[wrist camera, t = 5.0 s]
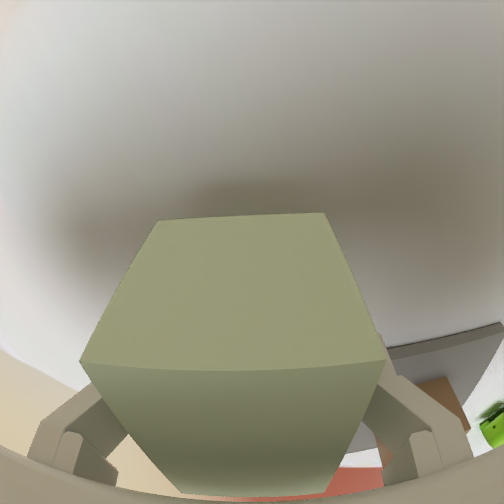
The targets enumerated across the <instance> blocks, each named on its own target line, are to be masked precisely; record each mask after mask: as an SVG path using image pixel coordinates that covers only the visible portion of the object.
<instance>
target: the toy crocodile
mask: <svg viewBox="0 0 504 504" xmlns="http://www.w3.org/2000/svg"><path fill="white" fill-rule="evenodd" d="M480 429H481V431H482V433H483V435H484V437H485V439H486V441H487V442H488V444H489V445H490V446H491V447H492V448H493V449H495V448H497V447H499V446H501V445H503V444H504V412H503V413H501V414H500V415H499V416H498V417H497V418H496V419H494V420H493V421H492V422H490V421H489V420H487V421H485V422H484V423H483V424H481V425H480Z"/></svg>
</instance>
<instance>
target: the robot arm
mask: <svg viewBox="0 0 504 504" xmlns="http://www.w3.org/2000/svg"><path fill="white" fill-rule="evenodd" d="M377 335H378V337H379V340H380V342H381V345H382V348H383V350H384V353H385V356H386V358H387V360H386V363H385V365H384V368H383V371H382V373H381V376H380V378H379V381H378V383H377V386H376V388H375V391H374V393H373V396H372V398H371V400H370V403H369V405H368V407H367V410H366V412H365V414H364V416H363V418H362V421H363V422H364V423H365V425H366V426H367V427H368V428H369V429H370V430H371V431H372V432H373V433H374V434H375V435H376V436H377V437H378V438H379V439H380V441H381V442H382V443H383V444H384V445H385V446H386V447H387V448H388V449H389V450H390V451H391V452H392V453H393V454H394V455H395V456H394V457H393V458H392V460H391V461H390V462H389V463H388V464H387V466H386V467H385V468H384V469H383V471H382V477H383V482H384V487H382V488H377V489H372V490H368V491H363V492H357V493H352V494H346V495H339V496H333V497H325V498H316V499H306V500H296V501H295V500H294V501H279V502H222V501H207V500H195V499H185V498H176V497H169V496H162V495H156V494H150V493H144V492H139V491H134V490H129V489H125V488H120V487H116V481H117V476H118V471H117V469H116V468H115V467H114V466H113V465H112V464H111V463H109V462H108V461H107V460H106V458H107V456H108V455H109V454H110V453H111V452H112V451H113V450H114V449H115V448H116V447H117V446H118V445H119V443H120V442H121V441H122V440H123V439H124V438H125V437H126V436H127V434H129V433H128V432H127V431H126V429H125V428H124V427H123V426H122V424H121V423H120V422H119V420H118V419H117V418H116V416H115V415H114V413H113V412H112V411H111V409H110V408H109V406H108V405H107V404H106V402H105V401H104V399H103V398H102V396H101V395H100V393H99V392H98V390H97V389H96V387H95V386H94V384H93V383H92V382H91V383H90V384H89V385H87V386H86V387H85V388H83V389H82V390H81V391H80V392H78V393H77V394H76V395H74V396H73V397H72V398H71V399H69V400H68V401H67V402H65V403H64V404H63V405H62V406H60V407H59V408H58V409H57V410H55V411H54V412H52V413H51V414H50V415H49V416H47V417H46V418H45V419H43V420H42V421H41V422H40V425H39V427H38V429H37V432H36V434H35V437H34V439H33V442H32V444H31V447H30V449H29V452H28V455H27V457H25V456H22V455H20V454H18V453H16V452H14V451H11V450H9V449H7V448H5V447H3V446H1V445H0V504H504V444H503V445H501V446H499V447H497V448H495V449H493V450H490V451H488V452H486V453H484V454H482V455H479V456H477V457H475V458H474V456H473V453H472V450H471V447H470V444H469V442H468V439H467V436H466V434H465V431H464V428H463V426H462V423H461V421H460V418H458V417H457V416H456V415H454V414H453V413H451V412H450V411H449V410H447V409H446V408H445V407H443V406H442V405H441V404H439V403H438V402H437V401H435V400H434V399H433V398H431V397H430V396H429V395H427V394H426V393H425V392H423V391H422V390H421V389H419V388H418V387H417V386H415V385H414V384H413V383H411V382H410V381H409V380H407V379H406V378H405V377H404V376H402V375H398V376H397V375H396V372H395V369H394V367H393V364H392V361H391V359H390V356H389V354H388V351H387V349H386V346H385V344H384V341H383V339H382V336H381V335H380V334H379V333H377Z"/></svg>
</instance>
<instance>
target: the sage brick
mask: <svg viewBox="0 0 504 504" xmlns="http://www.w3.org/2000/svg"><path fill="white" fill-rule="evenodd" d="M386 360H387V358H386V356H385V353H384V350H383V348H382V345H381V342H380V340H379V337H378V335H377V332H376V329H375V327H374V324H373V322H372V319H371V317H370V314H369V312H368V309H367V307H366V305H365V302H364V300H363V297H362V295H361V293H360V290H359V288H358V285H357V283H356V281H355V278H354V276H353V274H352V272H351V269H350V267H349V265H348V263H347V260H346V258H345V256H344V254H343V251H342V249H341V247H340V245H339V243H338V241H337V238H336V236H335V234H334V232H333V230H332V228H331V226H330V224H329V221H328V219H327V217H326V215H325V213H292V214H265V215H243V216H223V217H205V218H189V219H174V220H159V221H157V223H156V224H155V226H154V227H153V229H152V230H151V232H150V234H149V235H148V237H147V238H146V240H145V242H144V243H143V245H142V247H141V248H140V250H139V252H138V253H137V255H136V257H135V258H134V260H133V262H132V263H131V265H130V267H129V268H128V270H127V272H126V274H125V275H124V277H123V279H122V280H121V282H120V284H119V286H118V287H117V289H116V291H115V293H114V295H113V296H112V298H111V300H110V302H109V304H108V306H107V307H106V309H105V311H104V313H103V315H102V317H101V319H100V321H99V322H98V324H97V326H96V328H95V330H94V332H93V334H92V336H91V338H90V340H89V342H88V344H87V346H86V348H85V350H84V352H83V354H82V356H81V358H80V360H79V362H80V364H81V365H82V367H83V369H84V370H85V372H86V373H87V375H88V377H89V378H90V380H91V381H92V383H93V384H94V386H95V387H96V389H97V390H98V392H99V393H100V395H101V396H102V398H103V399H104V401H105V402H106V404H107V405H108V406H109V408H110V409H111V411H112V412H113V413H114V415H115V416H116V418H117V419H118V420H119V422H120V423H121V424H122V426H123V427H124V428H125V429H126V431H127V432H128V433H129V434H130V436H131V437H132V438H133V440H134V441H135V442H136V443H137V444H138V445H139V447H140V448H141V449H142V450H143V452H144V453H145V454H146V455H147V456H148V458H149V459H150V460H151V461H152V462H153V463H154V464H155V465H156V467H157V468H158V469H159V470H160V471H161V472H162V473H163V474H164V475H165V477H166V478H167V479H168V480H169V481H170V482H171V483H172V484H173V485H174V486H175V487H176V488H177V489H178V490H179V491H180V492H181V493H185V494H196V495H208V496H225V497H276V496H293V495H306V494H316V493H324V491H325V489H326V488H327V486H328V484H329V483H330V481H331V479H332V477H333V476H334V474H335V472H336V470H337V468H338V467H339V465H340V463H341V461H342V459H343V457H344V455H345V453H346V451H347V450H348V448H349V446H350V444H351V442H352V440H353V438H354V435H355V433H356V431H357V429H358V427H359V425H360V423H361V421H362V418H363V416H364V414H365V412H366V410H367V407H368V405H369V403H370V400H371V398H372V396H373V393H374V391H375V388H376V386H377V383H378V381H379V378H380V376H381V373H382V371H383V368H384V365H385V363H386Z"/></svg>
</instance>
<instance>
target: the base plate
mask: <svg viewBox="0 0 504 504" xmlns="http://www.w3.org/2000/svg"><path fill="white" fill-rule="evenodd" d="M503 338H504V326H503V325H502V323H501V322H500V323H497V324H493V325H490V326H486V327H483V328H479V329H475V330H472V331H468V332H464V333H460V334H456V335H452V336H448V337H443V338H439V339H434V340H430V341H425V342H420V343H416V344H411V345H405V346H400V347H395V348H389V349H387V351H388V354H389V356H390V359H391V361H392V364H393V367H394V369H395V372H396V375H397V376H398V375H402V376H404V377H405V378H406V379H407V380H409V381H410V382H411V383H413V384H414V385H415V386H417V387H418V388H419V389H421V390H422V391H423V392H425V393H426V394H427V395H429V396H430V397H431V398H433V399H434V400H435V401H437V402H438V403H439V404H441V405H442V406H443V407H445V408H446V409H447V410H449V411H450V412H451V413H453V414H454V415H456V416H457V417H458V418H460V421H461V423H462V426H463V428H464V431H465V434H467V433H468V431H469V430H470V429H471V427H470V425H469V422H468V420H467V418H466V416H465V414H464V411H463V409H462V406H463V405H464V403H465V402H466V400H467V399H468V397H469V396H470V394H471V393H472V391H473V390H474V388H475V387H476V385H477V383H478V382H479V380H480V379H481V377H482V375H483V374H484V372H485V370H486V369H487V367H488V365H489V363H490V362H491V360H492V358H493V356H494V355H495V353H496V351H497V349H498V347H499V345H500V343H501V341H502V340H503ZM377 447H378V451H379V454H380V458H381V462H382V466H383V469H384V468H385V467H386V466H387V464H388V463H389V462H390V461H391V460H392V458H393V457H394V456H395V455H394V454H393V453H392V452H391V451H390V450H389V449H388V448H387V447H386V446H385V445H384V444H383V443H382V442H381V441H380V439H379V438H378V437H377V436H376V435H375V434H374V433H373V432H372V431H371V430H370V429H369V428H368V427H367V426H366V425H365V423H364V422H363V421H361V423H360V425H359V427H358V429H357V431H356V433H355V435H354V438H353V440H352V442H351V444H350V446H349V448H348V450H347V451H346V453H345V454H348V453H353V452H359V451H364V450H368V449H373V448H377Z"/></svg>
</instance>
